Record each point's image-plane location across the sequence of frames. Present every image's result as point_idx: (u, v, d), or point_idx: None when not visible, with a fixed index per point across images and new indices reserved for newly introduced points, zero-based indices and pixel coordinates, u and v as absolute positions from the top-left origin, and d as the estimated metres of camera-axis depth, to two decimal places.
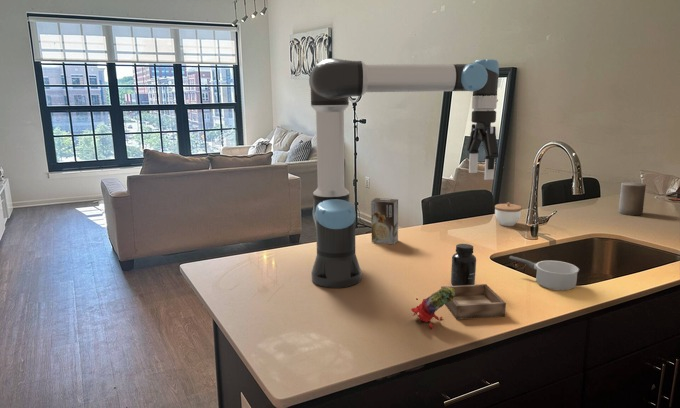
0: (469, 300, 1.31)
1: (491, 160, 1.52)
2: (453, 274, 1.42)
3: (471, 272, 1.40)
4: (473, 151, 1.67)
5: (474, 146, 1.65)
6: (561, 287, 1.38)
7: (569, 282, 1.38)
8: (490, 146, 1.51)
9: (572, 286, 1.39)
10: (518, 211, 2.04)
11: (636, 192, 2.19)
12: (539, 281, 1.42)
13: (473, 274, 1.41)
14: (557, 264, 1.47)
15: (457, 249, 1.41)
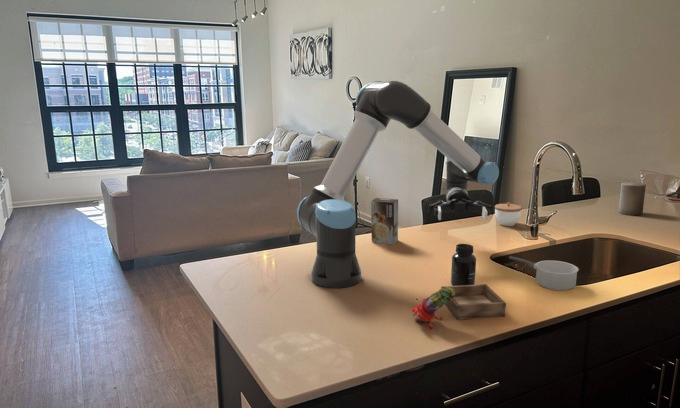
0: (469, 300, 1.31)
1: None
2: (453, 274, 1.42)
3: (471, 272, 1.40)
4: None
5: (443, 207, 1.59)
6: (561, 287, 1.38)
7: (569, 282, 1.38)
8: None
9: (572, 286, 1.39)
10: (518, 211, 2.04)
11: (636, 192, 2.19)
12: (539, 281, 1.42)
13: (473, 274, 1.41)
14: (557, 264, 1.47)
15: (457, 249, 1.41)
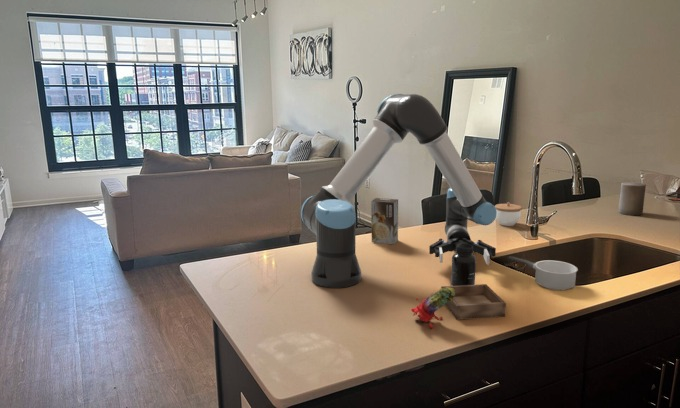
0: (469, 300, 1.31)
1: (490, 252, 1.52)
2: (453, 274, 1.42)
3: (471, 272, 1.40)
4: None
5: (444, 247, 1.57)
6: (560, 287, 1.38)
7: (568, 281, 1.38)
8: None
9: (571, 286, 1.39)
10: (518, 211, 2.04)
11: (636, 192, 2.19)
12: (538, 281, 1.42)
13: (473, 274, 1.41)
14: (556, 264, 1.47)
15: (457, 249, 1.41)
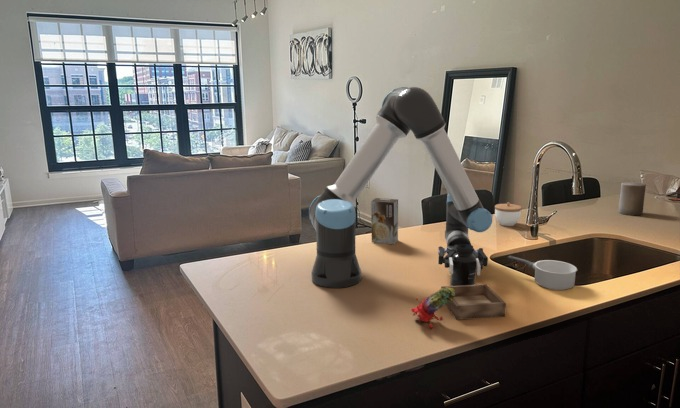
0: (469, 300, 1.31)
1: None
2: (453, 274, 1.42)
3: (471, 272, 1.40)
4: None
5: (451, 256, 1.48)
6: (560, 287, 1.38)
7: (568, 281, 1.38)
8: None
9: (570, 286, 1.39)
10: (518, 211, 2.04)
11: (636, 192, 2.19)
12: (537, 281, 1.43)
13: (473, 274, 1.41)
14: (556, 264, 1.47)
15: (457, 249, 1.41)
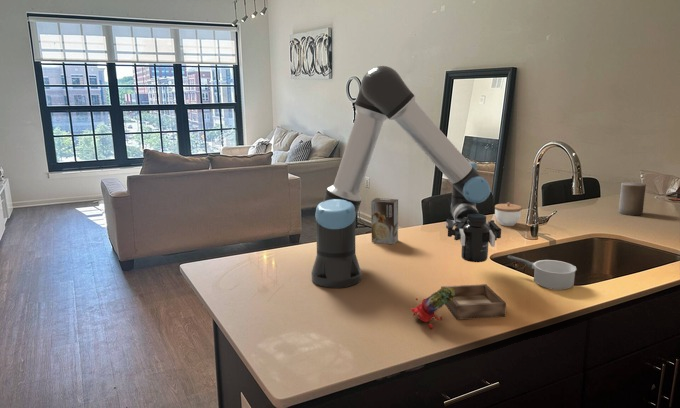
0: (469, 300, 1.31)
1: None
2: (464, 246, 1.31)
3: (484, 244, 1.29)
4: None
5: (461, 228, 1.36)
6: (559, 287, 1.39)
7: (567, 281, 1.38)
8: (497, 227, 1.36)
9: (570, 285, 1.39)
10: (518, 211, 2.04)
11: (636, 192, 2.19)
12: (537, 280, 1.43)
13: (486, 246, 1.29)
14: (555, 264, 1.48)
15: (469, 219, 1.30)
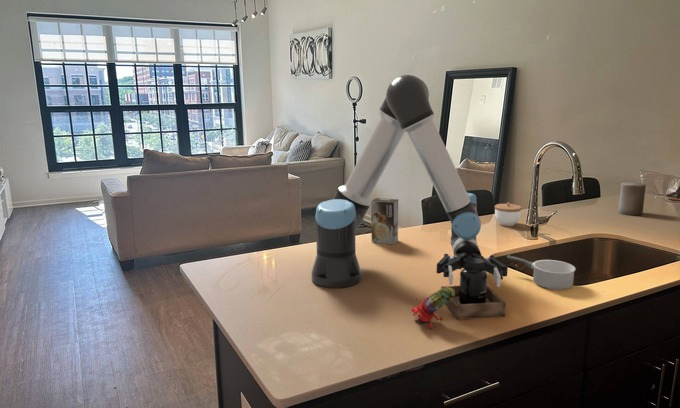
0: None
1: None
2: (462, 292, 1.27)
3: (482, 290, 1.25)
4: None
5: (453, 265, 1.33)
6: (558, 286, 1.39)
7: (566, 281, 1.39)
8: None
9: (569, 285, 1.39)
10: (518, 211, 2.04)
11: (636, 192, 2.19)
12: (536, 280, 1.43)
13: (484, 292, 1.26)
14: (554, 263, 1.48)
15: (466, 264, 1.26)
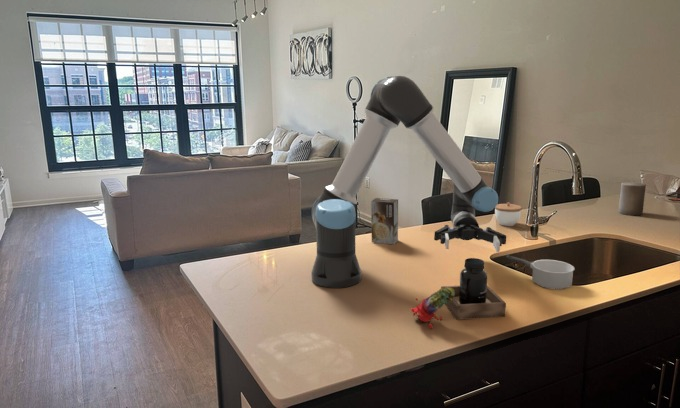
0: None
1: (500, 240, 1.40)
2: (462, 292, 1.27)
3: (482, 291, 1.25)
4: None
5: (451, 233, 1.45)
6: (557, 286, 1.39)
7: (565, 281, 1.39)
8: None
9: (568, 285, 1.40)
10: (518, 211, 2.04)
11: (636, 192, 2.19)
12: (535, 280, 1.43)
13: (484, 292, 1.26)
14: (553, 263, 1.48)
15: (466, 264, 1.26)
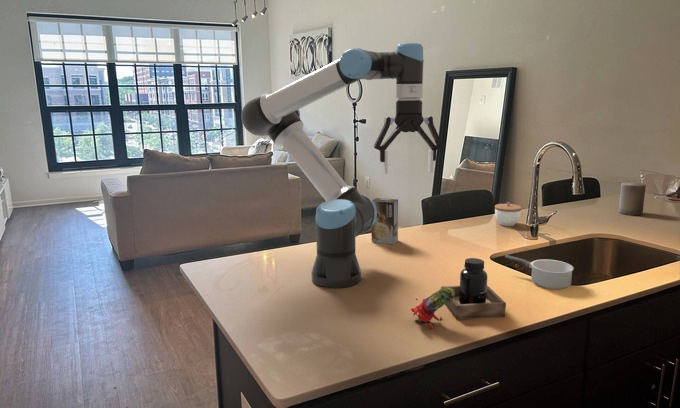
0: None
1: (380, 152, 1.45)
2: (461, 292, 1.27)
3: (482, 291, 1.25)
4: (431, 147, 1.46)
5: (425, 141, 1.46)
6: (556, 286, 1.39)
7: (564, 280, 1.39)
8: (378, 137, 1.45)
9: (567, 285, 1.40)
10: (518, 211, 2.04)
11: (636, 192, 2.19)
12: (534, 280, 1.43)
13: (484, 292, 1.26)
14: (553, 263, 1.48)
15: (466, 264, 1.26)
